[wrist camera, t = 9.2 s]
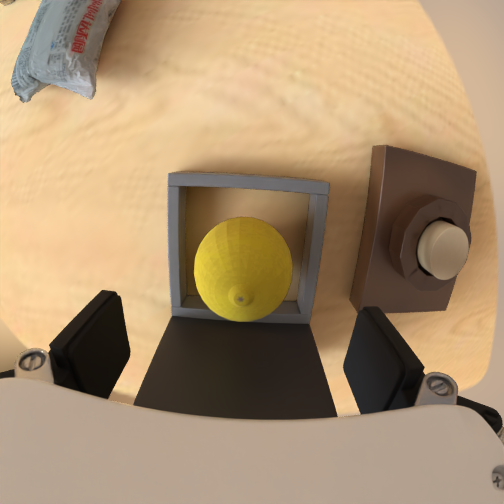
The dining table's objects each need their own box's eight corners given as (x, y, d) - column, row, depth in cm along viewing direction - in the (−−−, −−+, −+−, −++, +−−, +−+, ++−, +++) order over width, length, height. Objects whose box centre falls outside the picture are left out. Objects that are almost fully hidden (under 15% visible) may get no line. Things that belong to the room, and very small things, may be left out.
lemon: (274, 198, 19) (290, 225, 11) (290, 272, 21) (311, 335, 13) (196, 217, 19) (162, 256, 12) (218, 288, 21) (202, 357, 13)
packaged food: (150, -21, 13) (130, -51, 8) (105, 103, 16) (67, 92, 12) (71, -6, 12) (44, -25, 7) (31, 105, 16) (-7, 101, 11)
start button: (422, 217, 16) (437, 223, 14) (458, 223, 16) (473, 229, 14) (411, 269, 17) (424, 280, 15) (447, 271, 17) (461, 280, 15)
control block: (372, 145, 18) (398, 144, 14) (460, 168, 18) (491, 173, 14) (348, 300, 21) (365, 327, 18) (433, 299, 22) (456, 321, 18)
